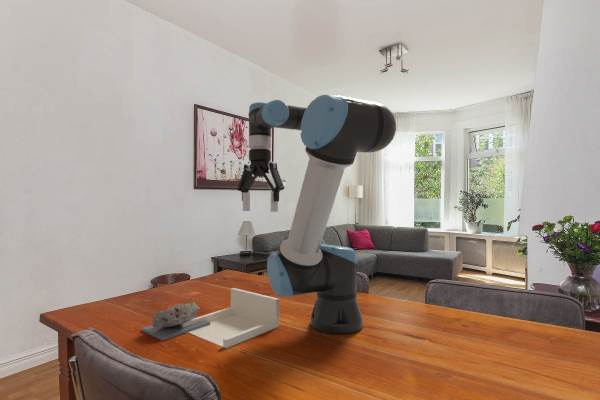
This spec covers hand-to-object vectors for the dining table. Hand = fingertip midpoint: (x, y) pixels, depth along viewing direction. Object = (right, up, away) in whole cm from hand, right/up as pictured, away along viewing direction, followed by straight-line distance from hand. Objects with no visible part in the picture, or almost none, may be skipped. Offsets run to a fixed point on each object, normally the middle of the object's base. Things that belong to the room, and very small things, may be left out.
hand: (259, 211), depth 120 cm
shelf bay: (-6, -33, -21) cm, 39 cm away
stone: (-21, -31, -20) cm, 43 cm away
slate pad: (-21, -33, -20) cm, 44 cm away
